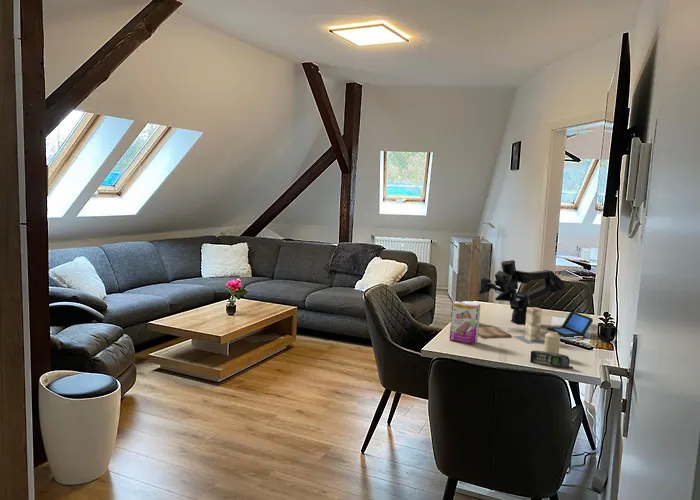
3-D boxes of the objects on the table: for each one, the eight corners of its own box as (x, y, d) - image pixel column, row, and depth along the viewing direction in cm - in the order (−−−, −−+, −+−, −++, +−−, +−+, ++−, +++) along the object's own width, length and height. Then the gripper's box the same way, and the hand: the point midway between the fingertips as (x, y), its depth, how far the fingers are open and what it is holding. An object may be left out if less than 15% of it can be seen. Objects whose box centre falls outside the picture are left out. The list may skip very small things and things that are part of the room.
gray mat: (536, 336, 242) (536, 335, 242) (552, 343, 230) (552, 343, 230) (512, 336, 239) (512, 336, 239) (527, 344, 227) (527, 343, 227)
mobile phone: (530, 351, 201) (573, 357, 194) (531, 349, 203) (574, 354, 197) (529, 363, 201) (572, 370, 194) (530, 361, 204) (573, 368, 197)
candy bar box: (449, 340, 227) (451, 302, 226) (452, 338, 232) (454, 301, 230) (475, 344, 223) (478, 306, 221) (477, 342, 227) (480, 304, 225)
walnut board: (495, 329, 251) (495, 327, 250) (511, 337, 237) (511, 334, 237) (468, 330, 247) (468, 327, 247) (482, 338, 234) (482, 335, 234)
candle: (541, 354, 213) (543, 329, 212) (554, 354, 213) (556, 330, 212) (547, 358, 207) (549, 333, 206) (561, 358, 208) (563, 333, 207)
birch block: (533, 338, 237) (536, 307, 236) (539, 340, 233) (541, 309, 231) (524, 338, 236) (526, 307, 235) (530, 341, 232) (532, 309, 230)
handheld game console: (545, 330, 255) (547, 311, 254) (569, 329, 258) (571, 310, 257) (567, 339, 239) (568, 319, 238) (592, 338, 243) (594, 318, 242)
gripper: (491, 263, 263) (471, 274, 254) (524, 275, 250) (504, 287, 241) (491, 283, 268) (471, 295, 259) (523, 295, 254) (504, 308, 245)
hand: (487, 296), depth 251 cm, fingers open, 9 cm apart
